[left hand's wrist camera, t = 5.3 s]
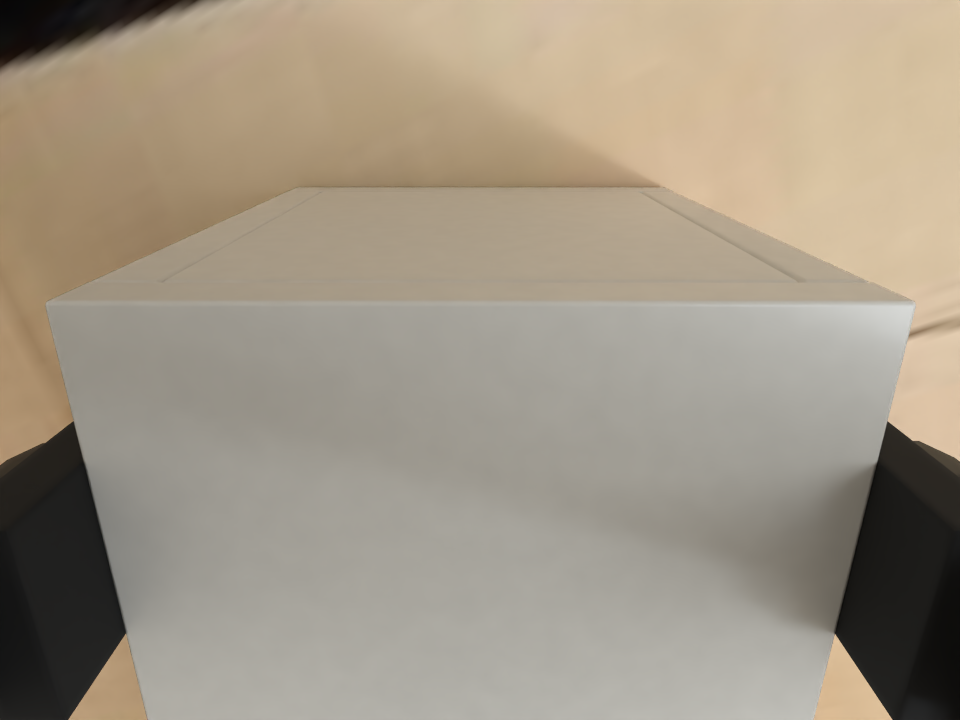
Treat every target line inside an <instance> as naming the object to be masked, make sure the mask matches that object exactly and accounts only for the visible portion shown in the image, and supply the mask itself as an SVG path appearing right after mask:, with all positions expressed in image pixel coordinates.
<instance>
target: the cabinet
mask: <svg viewBox="0 0 960 720" xmlns="http://www.w3.org/2000/svg"><path fill="white" fill-rule="evenodd" d="M45 307H46V311H47V315H48V319H49V323H50V327H51V331H52V335H53V339H54V343H55V347H56V351H57V355H58V359H59V363H60V367H61V371H62V375H63V380H64V384H65V388H66V392H67V396H68V400H69V404H70V408H71V412H72V416H73V420H74V424H75V428H76V432H77V436H78V440H79V444H80V448H81V452H82V456H83V461H84V465H85V469H86V473H87V477H88V481H89V485H90V489H91V493H92V497H93V501H94V505H95V509H96V513H97V517H98V521H99V525H100V529H101V533H102V537H103V541H104V546H105V550H106V554H107V558H108V562H109V566H110V570H111V574H112V578H113V582H114V586H115V590H116V594H117V598H118V602H119V606H120V610H121V614H122V618H123V622H124V627H125V631H126V635H127V639H128V643H129V647H130V651H131V655H132V659H133V663H134V667H135V671H136V675H137V679H138V683H139V687H140V691H141V695H142V699H143V703H144V707H145V712H146V716H147V720H814V716H815V712H816V708H817V704H818V700H819V696H820V692H821V688H822V683H823V679H824V675H825V671H826V667H827V663H828V659H829V655H830V651H831V647H832V643H833V639H834V635H835V631H836V627H837V623H838V619H839V615H840V611H841V607H842V603H843V599H844V594H845V590H846V586H847V582H848V578H849V574H850V570H851V566H852V562H853V558H854V554H855V550H856V546H857V542H858V538H859V534H860V530H861V526H862V522H863V518H864V514H865V510H866V506H867V501H868V497H869V493H870V489H871V485H872V481H873V477H874V473H875V469H876V465H877V461H878V457H879V453H880V449H881V445H882V441H883V437H884V433H885V429H886V425H887V421H888V417H889V413H890V408H891V404H892V400H893V396H894V392H895V388H896V384H897V380H898V376H899V372H900V368H901V364H902V360H903V356H904V352H905V348H906V344H907V340H908V336H909V332H910V328H911V324H912V319H913V315H914V311H915V307H916V305H915V302H914V301H912V300H910V299H908V298H906V297H904V296H901V295H899V294H897V293H895V292H893V291H890V290H888V289H886V288H884V287H882V286H880V285H877V284H875V283H869V282H868V281H866V280H864V279H862V278H860V277H857V276H855V275H853V274H851V273H849V272H847V271H844V270H842V269H840V268H838V267H836V266H834V265H831V264H829V263H827V262H825V261H823V260H820V259H818V258H816V257H814V256H812V255H810V254H807V253H805V252H803V251H801V250H799V249H797V248H794V247H792V246H790V245H788V244H786V243H784V242H781V241H779V240H777V239H775V238H773V237H771V236H768V235H766V234H764V233H762V232H760V231H758V230H755V229H753V228H751V227H749V226H747V225H744V224H742V223H740V222H738V221H736V220H734V219H731V218H729V217H727V216H725V215H723V214H721V213H718V212H716V211H714V210H712V209H710V208H708V207H705V206H703V205H701V204H699V203H697V202H695V201H692V200H690V199H688V198H686V197H684V196H682V195H679V194H677V193H675V192H673V191H671V190H669V189H667V188H665V187H297V188H294V189H292V190H290V191H287V192H285V193H283V194H281V195H279V196H276V197H274V198H272V199H270V200H268V201H265V202H263V203H261V204H259V205H257V206H255V207H252V208H250V209H248V210H246V211H244V212H241V213H239V214H237V215H235V216H233V217H231V218H228V219H226V220H224V221H222V222H220V223H217V224H215V225H213V226H211V227H209V228H206V229H204V230H202V231H200V232H198V233H196V234H193V235H191V236H189V237H187V238H185V239H182V240H180V241H178V242H176V243H174V244H172V245H169V246H167V247H165V248H163V249H161V250H158V251H156V252H154V253H152V254H150V255H147V256H145V257H143V258H141V259H139V260H137V261H134V262H132V263H130V264H128V265H126V266H123V267H121V268H119V269H117V270H115V271H112V272H110V273H108V274H106V275H104V276H102V277H99V278H97V279H95V280H93V281H91V282H90V283H86V284H84V285H81V286H79V287H77V288H75V289H73V290H71V291H68V292H66V293H64V294H62V295H60V296H57V297H55V298H53V299H51V300H49V301H47V302H46V306H45Z"/></svg>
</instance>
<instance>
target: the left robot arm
mask: <svg viewBox="0 0 960 720" xmlns="http://www.w3.org/2000/svg"><path fill="white" fill-rule="evenodd" d="M125 634H126V631H125V627H124V622H123V618H122V614H121V610H120V606H119V602H118V598H117V594H116V590H115V586H114V582H113V578H112V574H111V570H110V566H109V562H108V558H107V554H106V550H105V546H104V541H103V537H102V533H101V529H100V525H99V521H98V517H97V513H96V509H95V505H94V501H93V497H92V493H91V489H90V485H89V481H88V477H87V473H86V469H85V465H84V461H83V456H82V452H81V448H80V444H79V440H78V436H77V432H76V428H75V424H74V421H73V422H72V423H71V424H69V425H68V426H67V427H65V428H64V429H63V430H62V431H60V432H59V433H58V434H56V435H55V436H54V437H53V438H51V439H50V440H49V441H48V442H46V443H42V444H40V445H38V446H36V447H34V448H32V449H30V450H28V451H25V452H23V453H21V454H19V455H17V456H15V457H13V458H11V459H8V460H7V461H5V462H4V463H3V464H1V465H0V720H68V719H69V718H70V716H71V715H72V713H73V712H74V710H75V709H76V707H77V706H78V704H79V703H80V701H81V700H82V698H83V697H84V695H85V694H86V692H87V691H88V689H89V688H90V686H91V685H92V683H93V682H94V680H95V679H96V677H97V676H98V674H99V673H100V671H101V670H102V668H103V667H104V665H105V664H106V662H107V661H108V659H109V658H110V656H111V655H112V653H113V652H114V650H115V649H116V647H117V646H118V644H119V643H120V641H121V640H122V638H123V637H124V635H125ZM835 634H836V636H837V637H838V639H839V640H840V642H841V643H842V645H843V646H844V648H845V649H846V651H847V652H848V654H849V655H850V657H851V658H852V660H853V661H854V663H855V664H856V666H857V667H858V669H859V670H860V672H861V673H862V675H863V676H864V678H865V679H866V681H867V682H868V684H869V685H870V687H871V688H872V690H873V691H874V693H875V694H876V696H877V697H878V698H879V700H880V701H881V703H882V704H883V706H884V707H885V709H886V710H887V712H888V713H889V715H890V716H891V718H892V719H893V720H960V462H959V461H958V460H957V459H955V458H954V457H952V456H950V455H948V454H945V453H943V452H941V451H939V450H937V449H935V448H933V447H930V446H928V445H926V444H924V443H922V442H920V441H912V440H911V439H909V438H908V437H907V436H906V435H904V434H903V433H902V432H900V431H899V430H898V429H897V428H895V427H894V426H893V425H892V424H890V423H889V422H888V421H887V425H886V429H885V433H884V437H883V441H882V445H881V449H880V453H879V457H878V461H877V465H876V469H875V473H874V477H873V481H872V485H871V489H870V493H869V497H868V501H867V506H866V510H865V514H864V518H863V522H862V526H861V530H860V534H859V538H858V542H857V546H856V550H855V554H854V558H853V562H852V566H851V570H850V574H849V578H848V582H847V586H846V590H845V594H844V599H843V603H842V607H841V611H840V615H839V619H838V623H837V627H836V631H835Z"/></svg>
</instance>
